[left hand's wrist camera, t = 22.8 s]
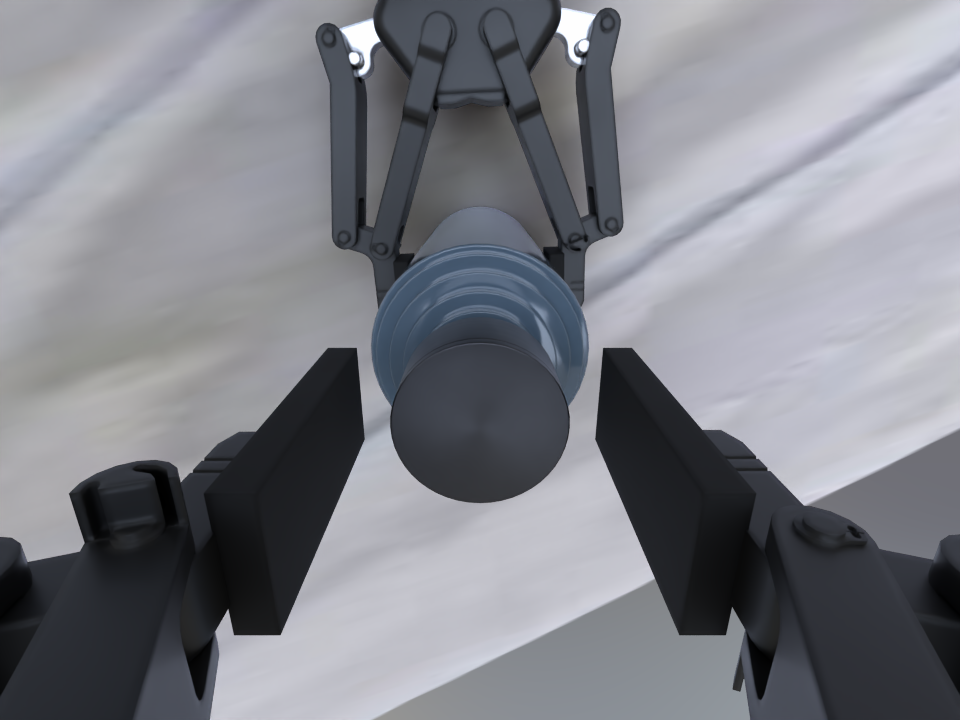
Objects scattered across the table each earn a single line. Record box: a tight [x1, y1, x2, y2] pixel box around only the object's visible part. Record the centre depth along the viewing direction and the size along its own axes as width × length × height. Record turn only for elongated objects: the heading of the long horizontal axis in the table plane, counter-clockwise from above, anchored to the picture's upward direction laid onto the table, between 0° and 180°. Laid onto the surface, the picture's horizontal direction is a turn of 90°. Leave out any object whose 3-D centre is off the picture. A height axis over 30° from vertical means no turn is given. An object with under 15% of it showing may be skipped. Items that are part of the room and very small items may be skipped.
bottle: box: [371, 207, 589, 406], centre depth 23 cm, size 7×7×22 cm
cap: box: [390, 317, 570, 503], centre depth 13 cm, size 4×4×2 cm
